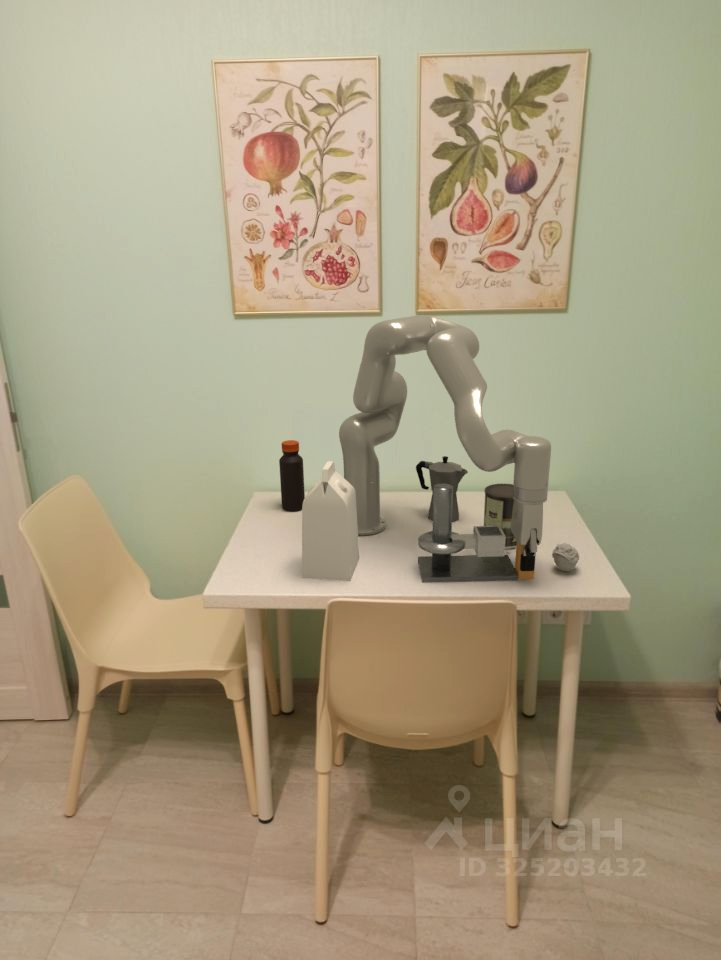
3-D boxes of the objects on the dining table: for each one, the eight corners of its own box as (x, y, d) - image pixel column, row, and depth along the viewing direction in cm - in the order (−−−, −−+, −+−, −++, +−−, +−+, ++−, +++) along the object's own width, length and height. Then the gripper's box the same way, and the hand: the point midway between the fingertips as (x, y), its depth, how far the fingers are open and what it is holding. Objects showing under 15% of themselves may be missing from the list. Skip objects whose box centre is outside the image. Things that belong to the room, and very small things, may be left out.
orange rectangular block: (518, 578, 157) (521, 535, 153) (514, 571, 160) (517, 528, 157) (533, 578, 157) (537, 534, 153) (529, 571, 160) (533, 528, 157)
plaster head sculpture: (544, 571, 160) (547, 544, 158) (560, 561, 165) (562, 535, 163) (568, 579, 156) (571, 552, 154) (583, 569, 161) (586, 542, 159)
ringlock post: (420, 582, 156) (421, 496, 149) (415, 561, 166) (416, 479, 159) (518, 580, 156) (524, 494, 149) (507, 558, 167) (512, 477, 159)
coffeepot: (471, 516, 192) (474, 455, 186) (458, 527, 185) (461, 464, 179) (422, 506, 200) (423, 447, 194) (408, 517, 192) (408, 456, 186)
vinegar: (295, 513, 196) (292, 447, 189) (277, 509, 199) (273, 443, 193) (309, 506, 201) (306, 441, 195) (291, 502, 205) (288, 438, 198)
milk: (314, 555, 170) (309, 456, 161) (359, 558, 168) (357, 458, 160) (301, 577, 159) (296, 472, 150) (350, 581, 157) (347, 474, 148)
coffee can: (525, 535, 179) (528, 485, 175) (519, 551, 170) (523, 499, 165) (486, 530, 183) (488, 481, 178) (478, 546, 174) (481, 494, 169)
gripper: (505, 480, 159) (500, 551, 166) (522, 506, 144) (516, 583, 150) (537, 479, 159) (531, 550, 166) (557, 505, 144) (550, 583, 150)
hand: (524, 565), depth 158 cm, fingers closed on orange rectangular block, 3 cm apart
